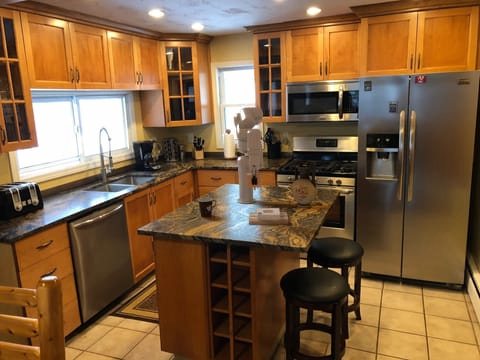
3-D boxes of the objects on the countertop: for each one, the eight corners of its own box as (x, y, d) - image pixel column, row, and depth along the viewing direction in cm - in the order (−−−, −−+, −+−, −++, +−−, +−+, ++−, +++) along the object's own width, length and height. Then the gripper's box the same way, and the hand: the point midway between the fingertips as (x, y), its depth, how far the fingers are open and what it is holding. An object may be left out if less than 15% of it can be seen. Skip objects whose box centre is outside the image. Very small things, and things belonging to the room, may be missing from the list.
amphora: (322, 204, 255) (322, 158, 249) (311, 210, 241) (311, 162, 235) (297, 200, 264) (297, 157, 258) (286, 206, 251) (285, 160, 245)
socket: (257, 213, 231) (257, 207, 230) (279, 213, 230) (279, 207, 230) (256, 219, 218) (256, 213, 217) (280, 219, 218) (280, 213, 217)
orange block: (248, 188, 225) (247, 173, 224) (262, 188, 225) (261, 172, 223) (247, 191, 219) (247, 175, 217) (261, 190, 218) (261, 175, 216)
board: (249, 215, 233) (249, 212, 233) (286, 215, 232) (286, 212, 231) (249, 224, 217) (248, 220, 217) (288, 223, 216) (288, 220, 216)
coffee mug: (200, 218, 231) (199, 202, 229) (198, 214, 239) (197, 198, 237) (219, 216, 234) (218, 200, 232) (216, 212, 242) (215, 197, 240)
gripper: (248, 150, 226) (249, 180, 230) (246, 154, 209) (247, 186, 213) (261, 150, 226) (261, 180, 229) (260, 154, 209) (261, 186, 212)
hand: (254, 183), depth 221 cm, fingers closed on orange block, 6 cm apart
